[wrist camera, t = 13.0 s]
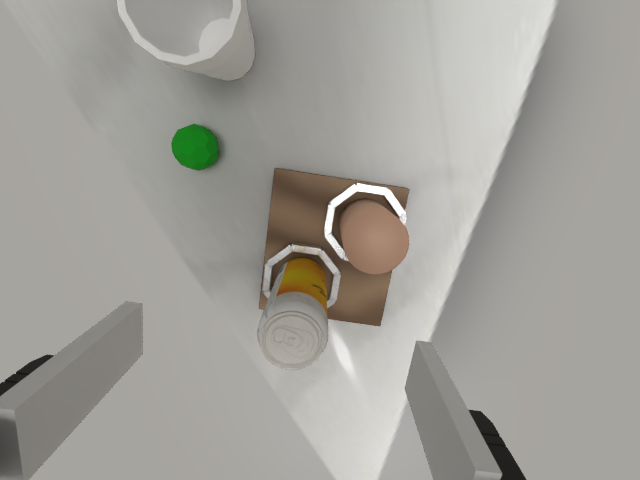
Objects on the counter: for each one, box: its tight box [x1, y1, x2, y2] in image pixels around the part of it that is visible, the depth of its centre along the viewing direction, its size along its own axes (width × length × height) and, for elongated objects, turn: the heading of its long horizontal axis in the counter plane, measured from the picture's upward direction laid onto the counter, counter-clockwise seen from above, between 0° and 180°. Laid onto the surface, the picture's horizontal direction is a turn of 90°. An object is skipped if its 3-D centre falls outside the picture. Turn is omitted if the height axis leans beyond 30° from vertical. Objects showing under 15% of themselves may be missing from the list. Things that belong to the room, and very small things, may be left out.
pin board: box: [259, 168, 409, 326], centre depth 42 cm, size 18×16×2 cm
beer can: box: [257, 258, 328, 370], centre depth 35 cm, size 6×6×15 cm
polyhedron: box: [171, 124, 219, 170], centre depth 38 cm, size 5×5×5 cm
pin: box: [339, 198, 409, 274], centre depth 35 cm, size 6×6×10 cm
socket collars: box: [262, 183, 407, 308], centre depth 40 cm, size 17×16×2 cm
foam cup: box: [117, 0, 255, 81], centre depth 31 cm, size 10×9×13 cm
